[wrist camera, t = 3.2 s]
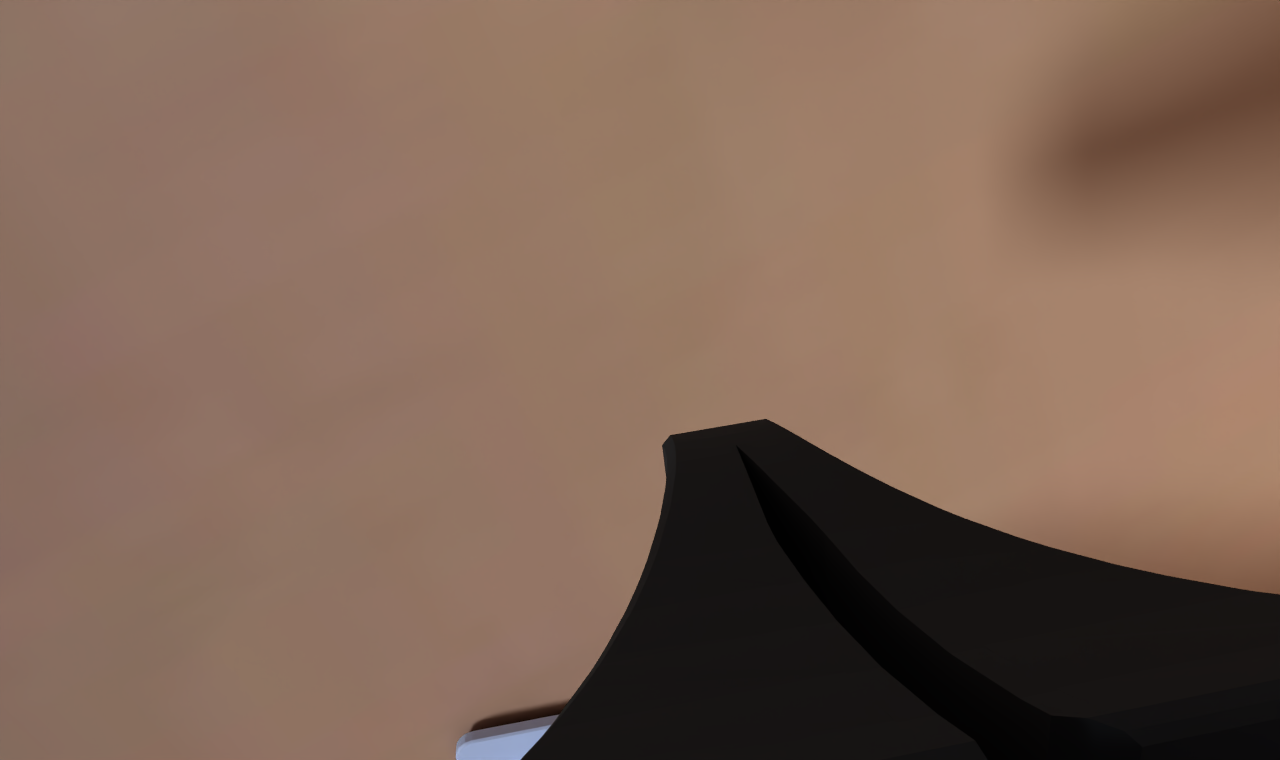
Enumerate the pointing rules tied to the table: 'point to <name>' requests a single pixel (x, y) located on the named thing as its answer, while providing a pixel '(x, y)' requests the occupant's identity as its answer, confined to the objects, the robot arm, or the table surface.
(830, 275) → the table surface
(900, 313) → the table surface
